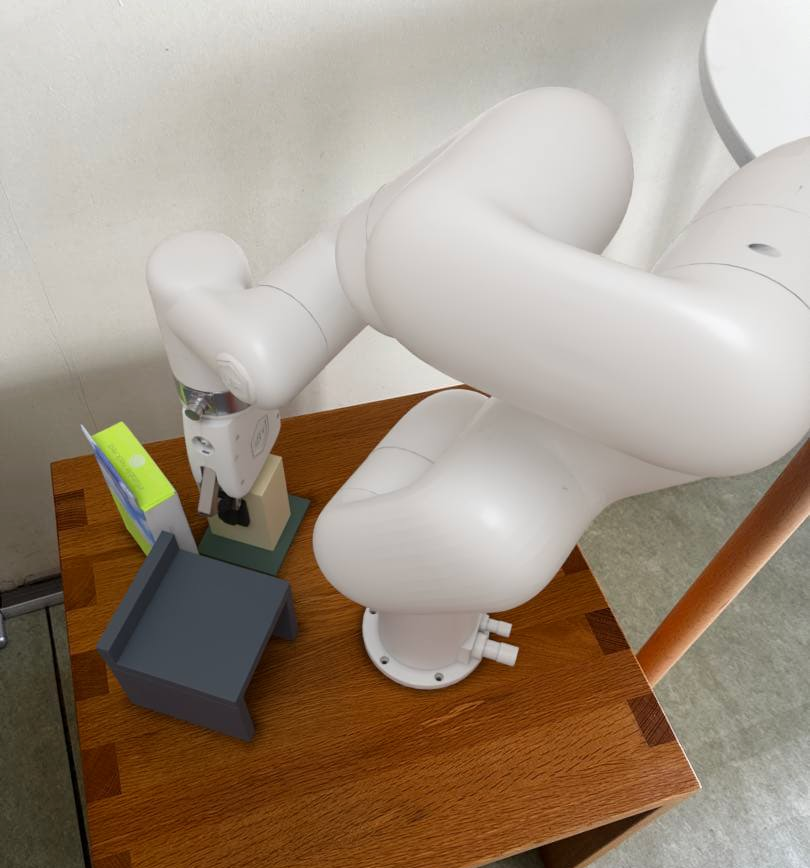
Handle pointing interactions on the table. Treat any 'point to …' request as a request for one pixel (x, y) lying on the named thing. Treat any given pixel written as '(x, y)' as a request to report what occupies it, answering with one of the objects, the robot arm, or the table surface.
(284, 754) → the table surface
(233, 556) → the mat
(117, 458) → the box
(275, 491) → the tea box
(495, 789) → the table surface
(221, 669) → the shelf
